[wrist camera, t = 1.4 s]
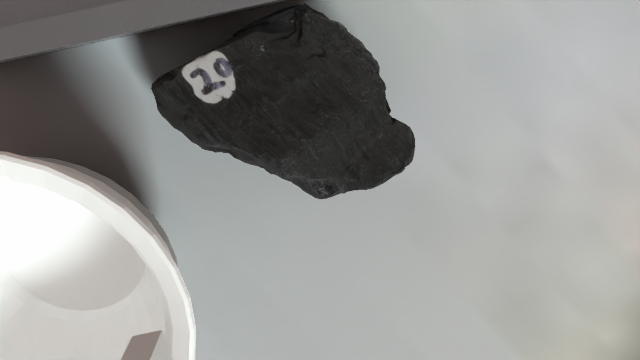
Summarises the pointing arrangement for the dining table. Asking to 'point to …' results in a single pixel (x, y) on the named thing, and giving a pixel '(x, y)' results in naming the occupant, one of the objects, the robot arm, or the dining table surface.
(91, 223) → the bowl
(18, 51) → the grey hollow tray
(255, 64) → the rock
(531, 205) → the dining table surface
